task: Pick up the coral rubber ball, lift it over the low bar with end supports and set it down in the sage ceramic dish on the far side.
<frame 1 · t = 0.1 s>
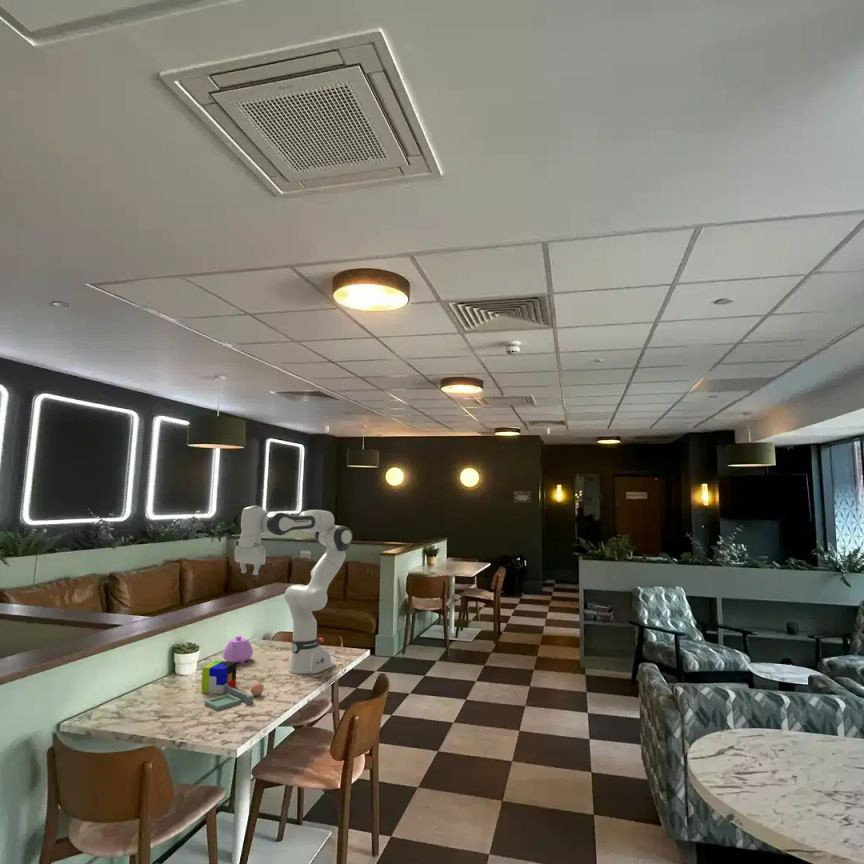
hand: (249, 573, 250), 48 cm above the table, fingers open, 8 cm apart
bar with end supports: (237, 698, 229), on the table
teapot: (237, 662, 280), on the table
dish: (222, 703, 223), on the table
ball: (257, 689, 233), point 2 cm above the table
puzzle toy: (218, 689, 241), on the table
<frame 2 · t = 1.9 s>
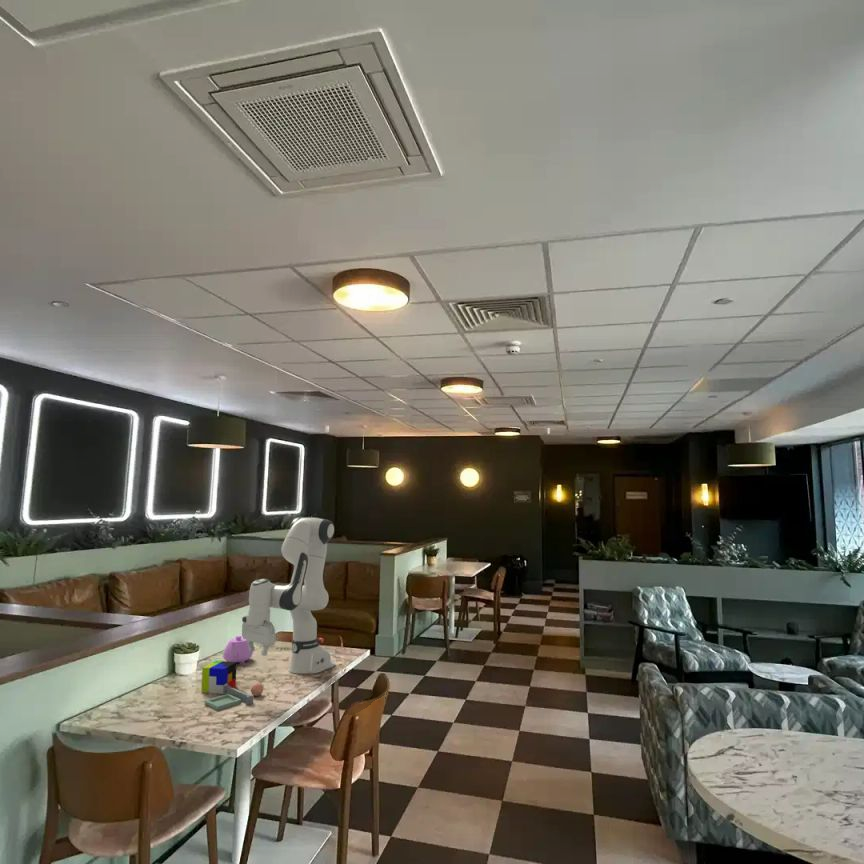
hand: (258, 653, 234), 17 cm above the table, fingers open, 8 cm apart
nothing on the table moved.
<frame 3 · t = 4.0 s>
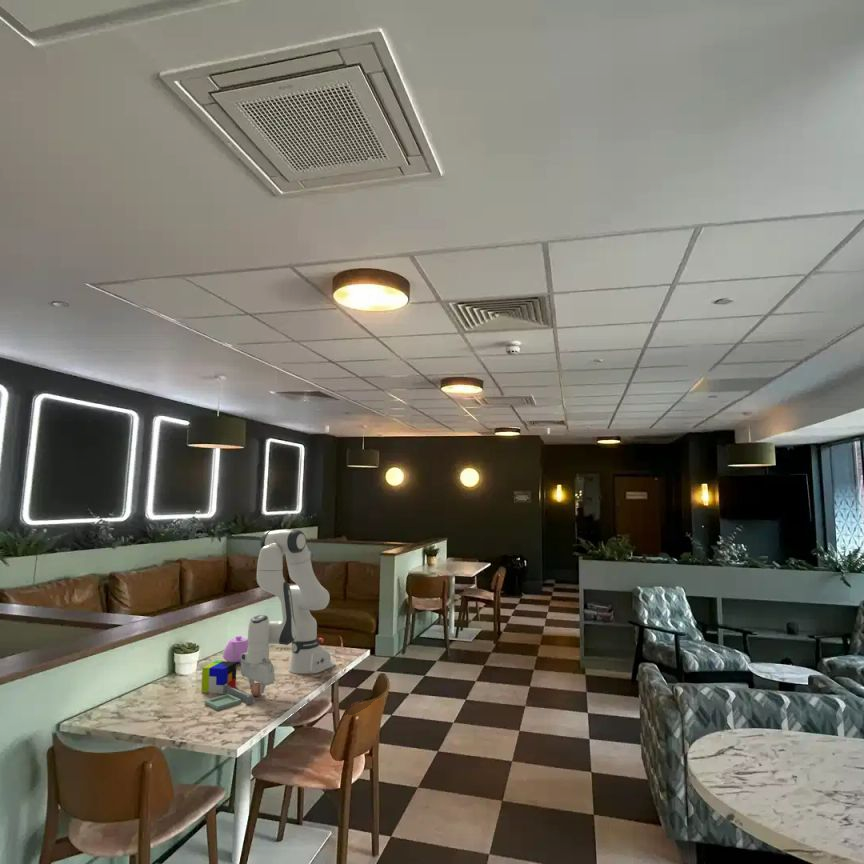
hand: (257, 691, 233), 2 cm above the table, fingers closed on ball, 5 cm apart
ball: (257, 689, 233), point 2 cm above the table, touching gripper
everything else where it was.
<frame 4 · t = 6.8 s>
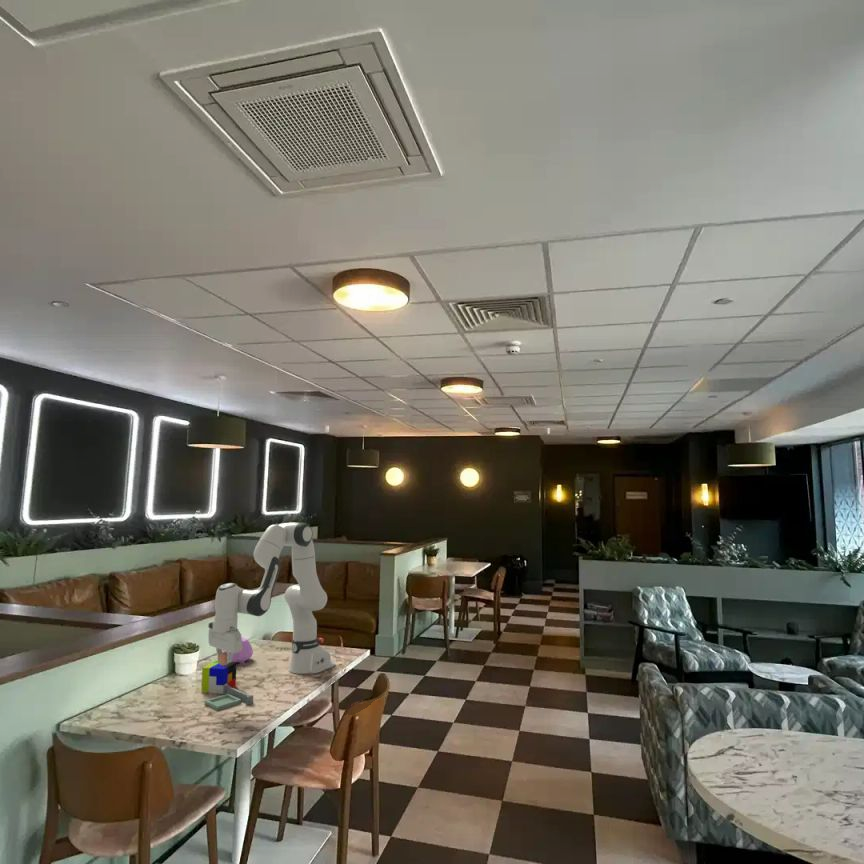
hand: (224, 660, 225), 17 cm above the table, fingers closed on ball, 5 cm apart
ball: (224, 658, 225), point 17 cm above the table, touching gripper
everything else where it was.
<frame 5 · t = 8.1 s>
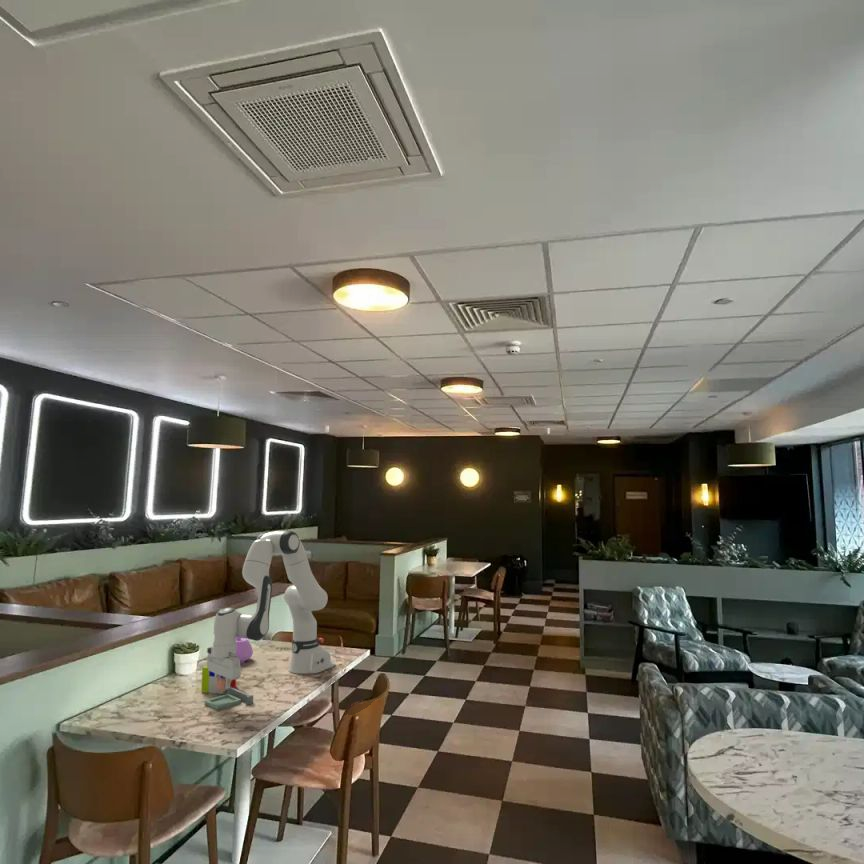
hand: (222, 686, 224), 7 cm above the table, fingers closed on ball, 5 cm apart
ball: (222, 684, 224), point 8 cm above the table, touching gripper
everything else where it was.
when the fingers open (5 cm above the table, at t = 9.3 s): ball drops 2 cm, resting on dish.
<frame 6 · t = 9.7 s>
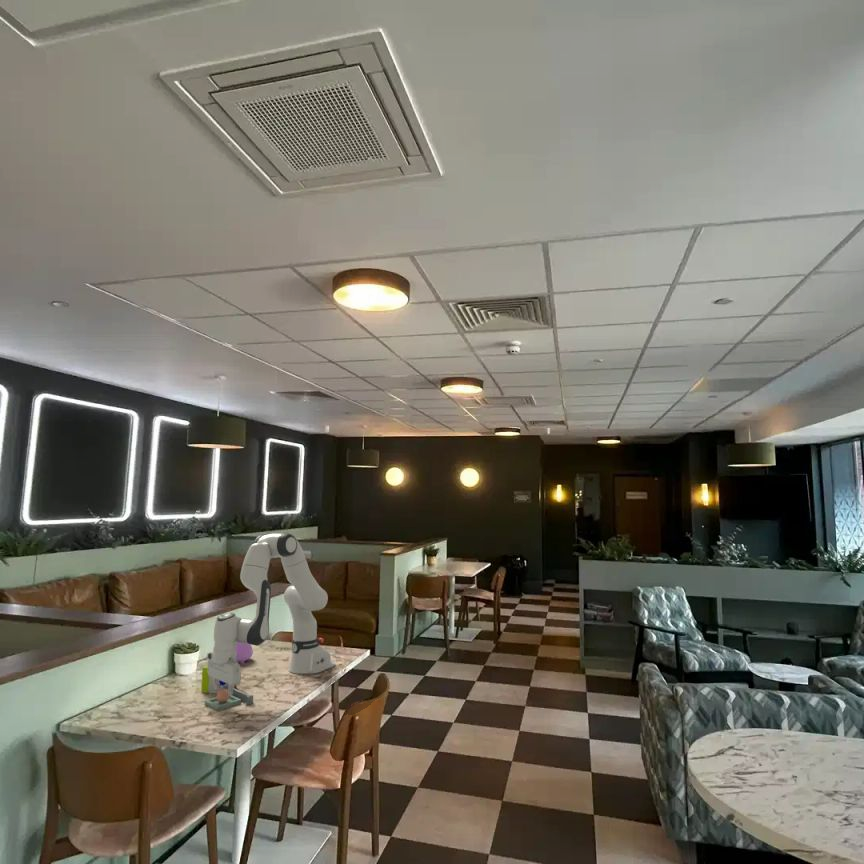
hand: (223, 691, 224), 5 cm above the table, fingers open, 8 cm apart
ball: (223, 695, 224), point 3 cm above the table, touching dish
everything else where it was.
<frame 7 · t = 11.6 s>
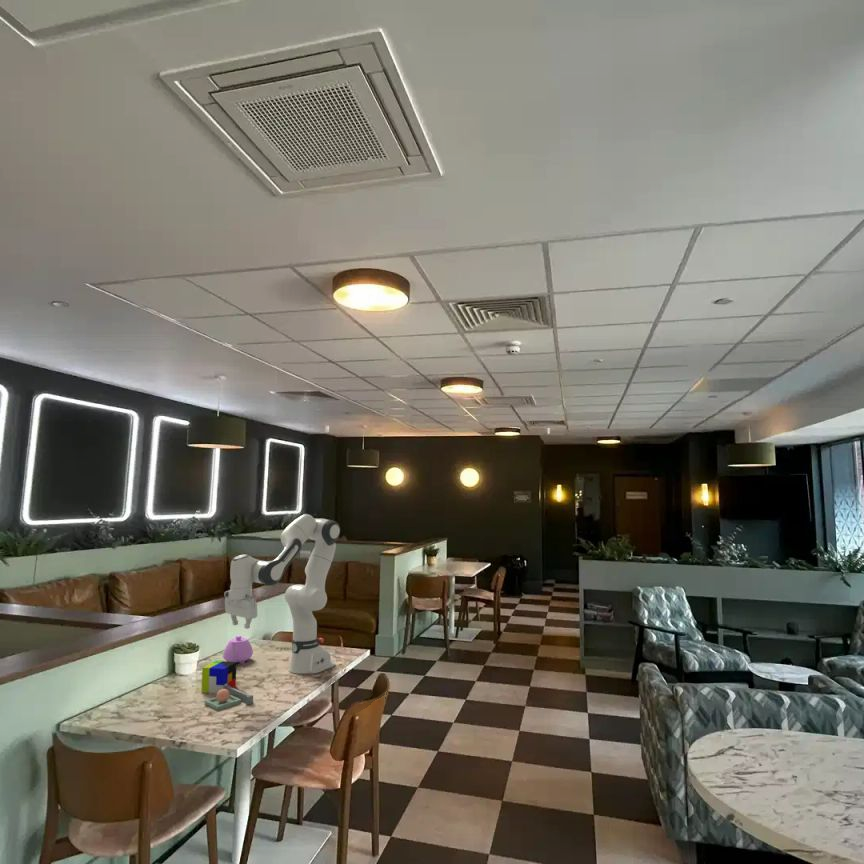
hand: (241, 626, 239), 27 cm above the table, fingers open, 8 cm apart
nothing on the table moved.
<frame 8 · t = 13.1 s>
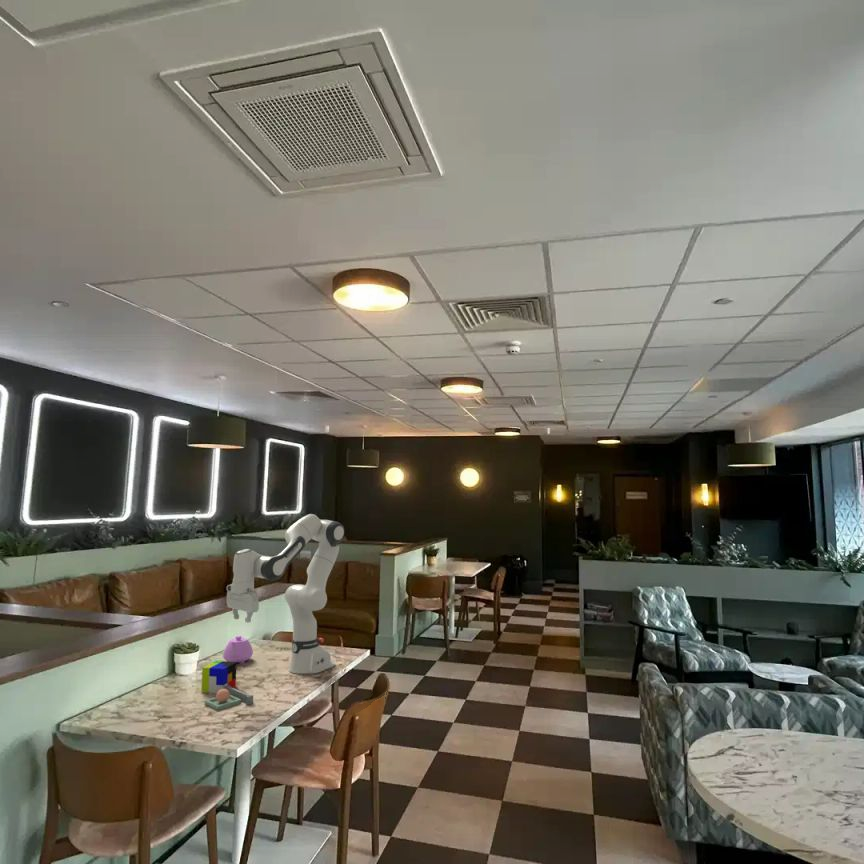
hand: (242, 620, 241), 29 cm above the table, fingers open, 8 cm apart
nothing on the table moved.
at the end: ball 0.2 cm from the dish (horizontally); ball point 3.1 cm above the table; the gripper is holding nothing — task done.
